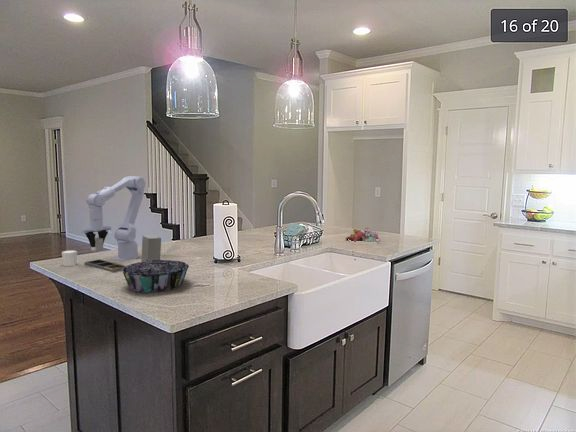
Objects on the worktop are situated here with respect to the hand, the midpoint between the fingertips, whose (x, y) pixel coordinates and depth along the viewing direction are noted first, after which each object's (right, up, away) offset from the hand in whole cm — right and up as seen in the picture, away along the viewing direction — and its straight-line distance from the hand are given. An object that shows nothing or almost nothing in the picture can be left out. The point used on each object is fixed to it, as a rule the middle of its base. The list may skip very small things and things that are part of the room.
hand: (97, 246), depth 208 cm
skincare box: (+27, -11, -1) cm, 29 cm away
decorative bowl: (+38, -15, -30) cm, 51 cm away
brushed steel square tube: (0, -2, 0) cm, 2 cm away
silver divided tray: (+6, -10, -3) cm, 12 cm away
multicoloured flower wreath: (+146, -3, +87) cm, 170 cm away
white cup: (-13, -10, -1) cm, 16 cm away
